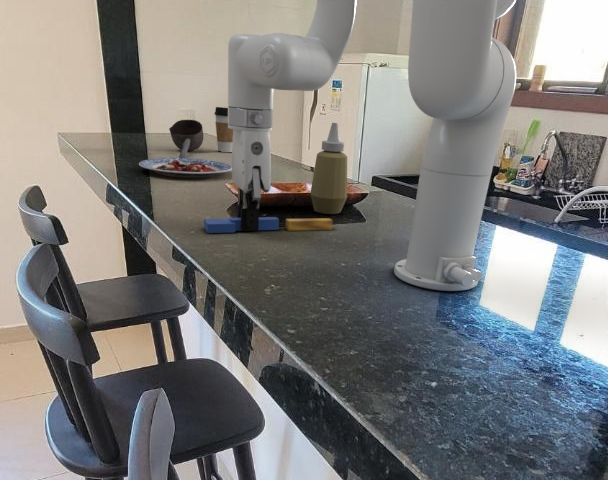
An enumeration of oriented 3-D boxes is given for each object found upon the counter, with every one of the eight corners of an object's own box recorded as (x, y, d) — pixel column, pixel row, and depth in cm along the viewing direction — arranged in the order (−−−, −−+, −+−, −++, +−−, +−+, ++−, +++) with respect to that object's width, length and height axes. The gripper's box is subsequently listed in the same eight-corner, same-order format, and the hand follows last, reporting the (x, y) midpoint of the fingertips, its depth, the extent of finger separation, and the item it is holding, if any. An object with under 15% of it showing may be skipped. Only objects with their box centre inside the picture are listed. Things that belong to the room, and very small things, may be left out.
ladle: (205, 142, 198) (201, 114, 191) (205, 189, 170) (201, 158, 163) (173, 144, 196) (168, 116, 189) (168, 191, 169) (162, 160, 162)
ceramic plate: (217, 184, 137) (217, 172, 135) (122, 175, 140) (121, 163, 138) (243, 170, 159) (243, 160, 158) (161, 163, 162) (160, 152, 161)
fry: (328, 227, 104) (329, 218, 104) (332, 229, 103) (332, 220, 102) (285, 228, 102) (285, 218, 101) (288, 230, 100) (288, 221, 99)
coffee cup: (210, 151, 194) (210, 106, 187) (220, 149, 202) (220, 106, 195) (231, 154, 192) (232, 108, 186) (241, 151, 200) (241, 108, 193)
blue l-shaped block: (274, 226, 102) (274, 215, 101) (280, 231, 99) (280, 220, 98) (204, 228, 97) (203, 217, 96) (207, 233, 94) (207, 221, 93)
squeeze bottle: (342, 217, 113) (352, 125, 104) (305, 213, 114) (311, 122, 106) (347, 210, 120) (356, 123, 111) (312, 206, 121) (319, 120, 113)
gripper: (285, 125, 84) (279, 239, 93) (259, 117, 97) (256, 218, 106) (239, 123, 82) (238, 240, 91) (218, 115, 95) (219, 218, 103)
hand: (247, 227), depth 98 cm, fingers closed on blue l-shaped block, 1 cm apart
